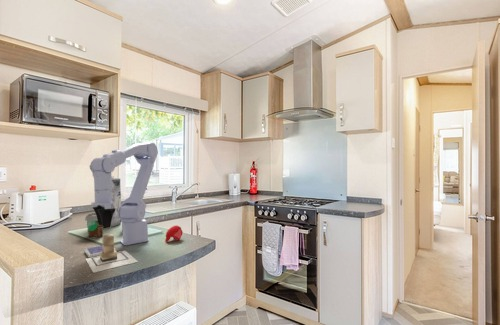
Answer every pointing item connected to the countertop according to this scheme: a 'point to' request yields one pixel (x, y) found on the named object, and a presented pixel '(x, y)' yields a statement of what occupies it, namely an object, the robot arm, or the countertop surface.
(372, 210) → the countertop surface
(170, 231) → the red rounded piece
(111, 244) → the stamp
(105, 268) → the paper
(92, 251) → the ink pad
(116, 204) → the juice carton
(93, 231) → the food container
